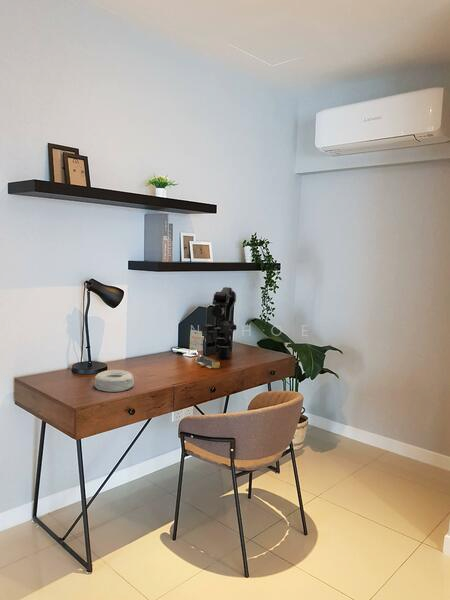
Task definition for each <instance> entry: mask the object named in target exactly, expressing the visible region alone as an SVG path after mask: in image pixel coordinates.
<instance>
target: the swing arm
mask: <svg viewBox="0 0 450 600" xmlns="http://www.w3.org/2000/svg"><path fill="white" fill-rule="evenodd" d="M196 360H197V361H198V362H201V363H204V364H206V365H205V366H211V367H213V368H212V369H219V368H220V366H221V365H220V361H218V360H216V359H215V360H214V359H212V358H210V357H207V356H205V355H202V354H198V355H196Z"/></svg>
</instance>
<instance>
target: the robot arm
mask: <svg viewBox="0 0 450 600" xmlns="http://www.w3.org/2000/svg"><path fill="white" fill-rule="evenodd" d="M212 299H213V300H212V306H214V307H212V309H211V315H212V316H213V318H214V323H213V325H212V324H204V325H203V326H202V330H203V331H204V332H205V333H206V335H207V336H208V338H209V341H210V344H213V343H214V333H215V330H220V331H219V332H218V333H217V337H216V339H215V347H216V349H217V352H216V353H217V355H216V356H215V358H216V359H219V360H222V361H223V360H224V361H225V360H230V359H231V357H230V351H231V350H233V340H232V339H231V334H232V333H234V332H235V331H237V324H235V322H234V320H231V317H232V316H231V314H232V309H233V308H234V307H235V303H237V293H236V292H235V291H234V290H233V288H232V287H227V286H226V287H225V286H224V287H222V289H221V291H215V293H214V294H213V298H212Z"/></svg>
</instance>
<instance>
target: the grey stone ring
mask: <svg viewBox="0 0 450 600" xmlns="http://www.w3.org/2000/svg"><path fill="white" fill-rule="evenodd" d="M134 380H135V379H134V376H133V374H132V372H130V371H127V370H123V369H108V370H103V371H101V372H98V373H97V374H96V375H95V376H94V387H95V388H96V389H97V390H99V391H103V392H109V393H112V392H123V391H126V390H130V389H132V387H133V386H134V384H135V381H134Z"/></svg>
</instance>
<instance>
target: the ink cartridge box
mask: <svg viewBox="0 0 450 600" xmlns="http://www.w3.org/2000/svg"><path fill="white" fill-rule="evenodd" d="M189 334H190V335H189V351H190V350H197V352H198V354H202V355H203V340H204V336H202V335H203V331H201V330H200V331H199V330H195V329H194V330H193V329H191V330H190V333H189Z"/></svg>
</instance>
